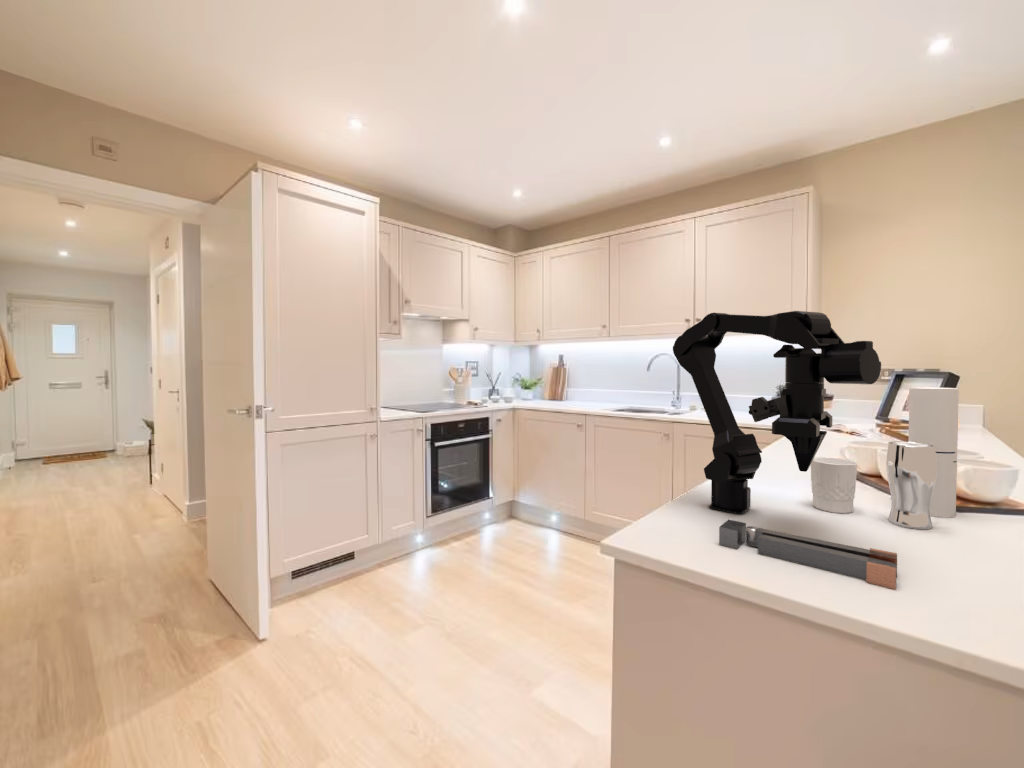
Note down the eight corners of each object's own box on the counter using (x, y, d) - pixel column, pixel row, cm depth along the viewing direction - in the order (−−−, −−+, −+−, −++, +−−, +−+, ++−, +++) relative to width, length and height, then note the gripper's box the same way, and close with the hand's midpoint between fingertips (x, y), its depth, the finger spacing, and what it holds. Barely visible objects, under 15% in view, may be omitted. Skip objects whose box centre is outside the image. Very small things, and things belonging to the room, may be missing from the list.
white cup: (843, 517, 87) (844, 466, 87) (801, 506, 94) (802, 459, 94) (864, 510, 90) (865, 462, 90) (822, 500, 97) (823, 455, 97)
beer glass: (945, 531, 78) (947, 447, 78) (900, 529, 80) (902, 446, 79) (918, 518, 85) (920, 441, 85) (877, 516, 87) (878, 440, 86)
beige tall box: (897, 507, 93) (899, 387, 92) (928, 505, 93) (931, 387, 92) (932, 518, 85) (935, 389, 85) (966, 517, 86) (969, 388, 85)
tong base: (718, 545, 73) (718, 527, 73) (728, 536, 77) (728, 519, 77) (895, 589, 58) (895, 566, 58) (897, 575, 62) (897, 554, 62)
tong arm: (744, 544, 73) (744, 528, 73) (748, 539, 75) (748, 524, 75) (896, 578, 61) (897, 559, 61) (896, 571, 63) (896, 553, 63)
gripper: (766, 381, 90) (765, 457, 91) (738, 383, 77) (738, 473, 77) (833, 381, 83) (832, 464, 83) (816, 384, 69) (815, 484, 69)
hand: (803, 471), depth 78 cm, fingers closed
